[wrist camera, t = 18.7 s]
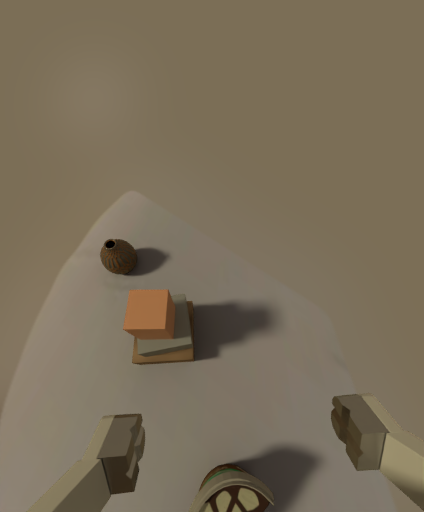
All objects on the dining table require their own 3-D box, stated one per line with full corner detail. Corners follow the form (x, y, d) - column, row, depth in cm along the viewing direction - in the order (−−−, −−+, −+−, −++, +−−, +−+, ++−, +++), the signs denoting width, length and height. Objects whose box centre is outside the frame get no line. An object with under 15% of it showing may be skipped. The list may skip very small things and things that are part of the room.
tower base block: (194, 361, 42) (192, 359, 37) (139, 364, 41) (132, 363, 37) (193, 308, 47) (192, 301, 42) (144, 310, 46) (138, 303, 42)
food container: (231, 432, 37) (239, 449, 28) (259, 470, 34) (277, 501, 26) (170, 504, 32) (156, 550, 24) (197, 551, 30) (194, 621, 22)
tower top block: (193, 347, 38) (191, 343, 34) (145, 357, 37) (137, 354, 33) (186, 302, 42) (184, 293, 38) (143, 310, 41) (136, 302, 37)
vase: (136, 247, 53) (124, 225, 45) (143, 272, 50) (131, 253, 42) (106, 256, 52) (89, 235, 44) (111, 282, 49) (93, 264, 41)
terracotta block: (173, 339, 34) (164, 328, 27) (140, 339, 34) (123, 329, 27) (175, 306, 37) (168, 289, 30) (144, 307, 36) (129, 289, 29)
